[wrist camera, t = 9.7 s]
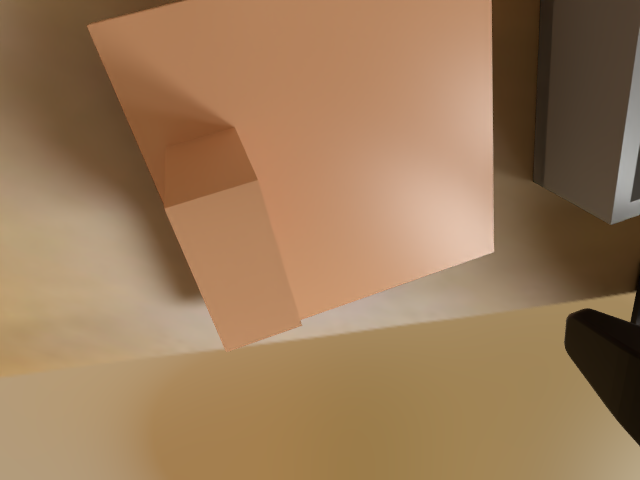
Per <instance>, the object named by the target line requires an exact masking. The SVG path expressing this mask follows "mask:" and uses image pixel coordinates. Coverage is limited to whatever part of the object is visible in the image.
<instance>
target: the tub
mask: <svg viewBox="0 0 640 480" xmlns="http://www.w3.org/2000/svg"><path fill="white" fill-rule="evenodd" d="M533 182H535V183H537V184H539V185H540V186H542V187H544V188H546V189H547V190H549V191H551V192H553V193H555V194H556V195H558V196H560V197H562V198H564V199H565V200H567V201H569V202H571V203H573V204H574V205H576V206H578V207H580V208H581V209H583V210H585V211H587V212H589V213H590V214H592V215H594V216H596V217H598V218H599V219H601V220H603V221H605V222H607V223H608V224H610V225H612V224H615V223H618V222H621V221H623V220H626V219H629V218H632V217H635V216H638V215H640V0H541V2H540V26H539V50H538V75H537V99H536V124H535V148H534V173H533Z"/></svg>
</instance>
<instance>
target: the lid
mask: <svg viewBox="0 0 640 480" xmlns="http://www.w3.org/2000/svg"><path fill="white" fill-rule="evenodd" d="M87 28H88V30H89V33H90V35H91V37H92V40H93V42H94V44H95V47H96V49H97V51H98V54H99V56H100V58H101V61H102V63H103V65H104V67H105V70H106V72H107V74H108V77H109V79H110V81H111V84H112V86H113V88H114V91H115V93H116V95H117V98H118V100H119V102H120V105H121V107H122V109H123V111H124V114H125V116H126V118H127V121H128V123H129V125H130V128H131V130H132V132H133V135H134V137H135V139H136V142H137V144H138V146H139V149H140V151H141V153H142V156H143V158H144V160H145V162H146V165H147V167H148V169H149V172H150V174H151V176H152V179H153V181H154V183H155V186H156V188H157V190H158V193H159V195H160V197H161V200H162V202H163V204H164V209H165V212H166V214H167V216H168V219H169V221H170V223H171V226H172V228H173V230H174V233H175V235H176V237H177V239H178V242H179V244H180V246H181V249H182V251H183V253H184V256H185V258H186V260H187V263H188V265H189V267H190V269H191V272H192V274H193V276H194V279H195V281H196V283H197V286H198V288H199V290H200V293H201V295H202V297H203V299H204V302H205V304H206V306H207V309H208V311H209V313H210V316H211V318H212V320H213V323H214V325H215V327H216V329H217V332H218V334H219V336H220V339H221V341H222V343H223V346H224V348H225V350H226V352H228V351H231V350H234V349H237V348H240V347H242V346H245V345H248V344H251V343H254V342H257V341H259V340H262V339H265V338H268V337H271V336H274V335H276V334H279V333H282V332H285V331H288V330H291V329H293V328H296V327H299V326H302V324H301V321H300V320H302V319H304V318H307V317H310V316H313V315H316V314H319V313H322V312H324V311H327V310H330V309H333V308H336V307H339V306H342V305H344V304H347V303H350V302H353V301H356V300H359V299H362V298H364V297H367V296H370V295H373V294H376V293H379V292H382V291H384V290H387V289H390V288H393V287H396V286H399V285H402V284H404V283H407V282H410V281H413V280H416V279H419V278H422V277H424V276H427V275H430V274H433V273H436V272H439V271H442V270H444V269H447V268H450V267H453V266H456V265H459V264H462V263H464V262H467V261H470V260H473V259H476V258H479V257H482V256H484V255H487V254H490V253H493V252H494V192H493V90H492V0H181V1H177V2H173V3H169V4H165V5H161V6H157V7H153V8H149V9H145V10H141V11H137V12H133V13H129V14H125V15H121V16H117V17H113V18H109V19H105V20H101V21H97V22H93V23H90V24H89V25H87Z"/></svg>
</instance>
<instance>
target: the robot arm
mask: <svg viewBox="0 0 640 480" xmlns="http://www.w3.org/2000/svg"><path fill="white" fill-rule="evenodd" d="M564 343H565V349H566V351H567V353H568V355H569V356H570V357H571V359H572V360H573V362H574V363H575V364H576V366H577V367H578V368H579V370H580V371H581V373H582V374H583V375H584V377H585V378H586V379H587V381H588V382H589V384H590V385H591V386H592V388H593V389H594V390H595V391H596V393H597V394H598V396H599V397H600V398H601V400H602V401H603V403H604V404H605V405H606V407H607V408H608V409H609V411H610V412H611V413H612V414H613V416H614V417H615V418H616V420H617V421H618V422H619V423H620V424H621V425H622V427H623V428H624V429H625V430H626V431H627V432H628V433H629V434H630V436H631V437H632V438H633V439H634V440H635V441H636V442H637V443H638V445H639V446H640V276H639V281H638V286H637V292H636V297H635V302H634V307H633V312H632V317H631V322H627V321H625V320H622V319H619V318H616V317H613V316H610V315H607V314H604V313H602V312H598V311H596V310H592V309H582V310H580V311H577V312H574V313H571V314H570V315H569V316H568V317H567V320H566V330H565V341H564Z"/></svg>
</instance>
